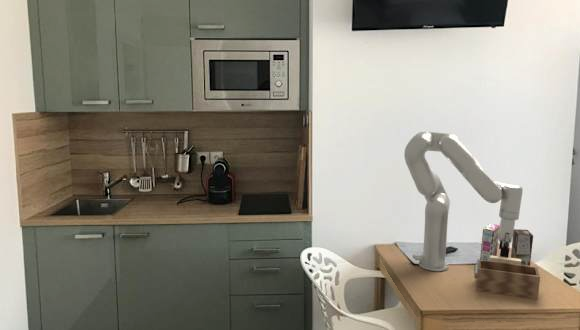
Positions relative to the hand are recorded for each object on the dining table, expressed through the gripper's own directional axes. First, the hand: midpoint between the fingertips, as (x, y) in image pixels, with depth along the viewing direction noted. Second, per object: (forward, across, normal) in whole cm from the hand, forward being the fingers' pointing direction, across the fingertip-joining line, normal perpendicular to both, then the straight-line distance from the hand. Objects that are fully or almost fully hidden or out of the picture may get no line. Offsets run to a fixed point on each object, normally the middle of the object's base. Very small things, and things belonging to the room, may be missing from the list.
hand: (503, 253), depth 212 cm
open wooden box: (+10, +14, +2) cm, 18 cm away
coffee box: (+10, -14, +8) cm, 19 cm away
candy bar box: (+10, -16, -4) cm, 20 cm away
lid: (+10, 0, +2) cm, 10 cm away
